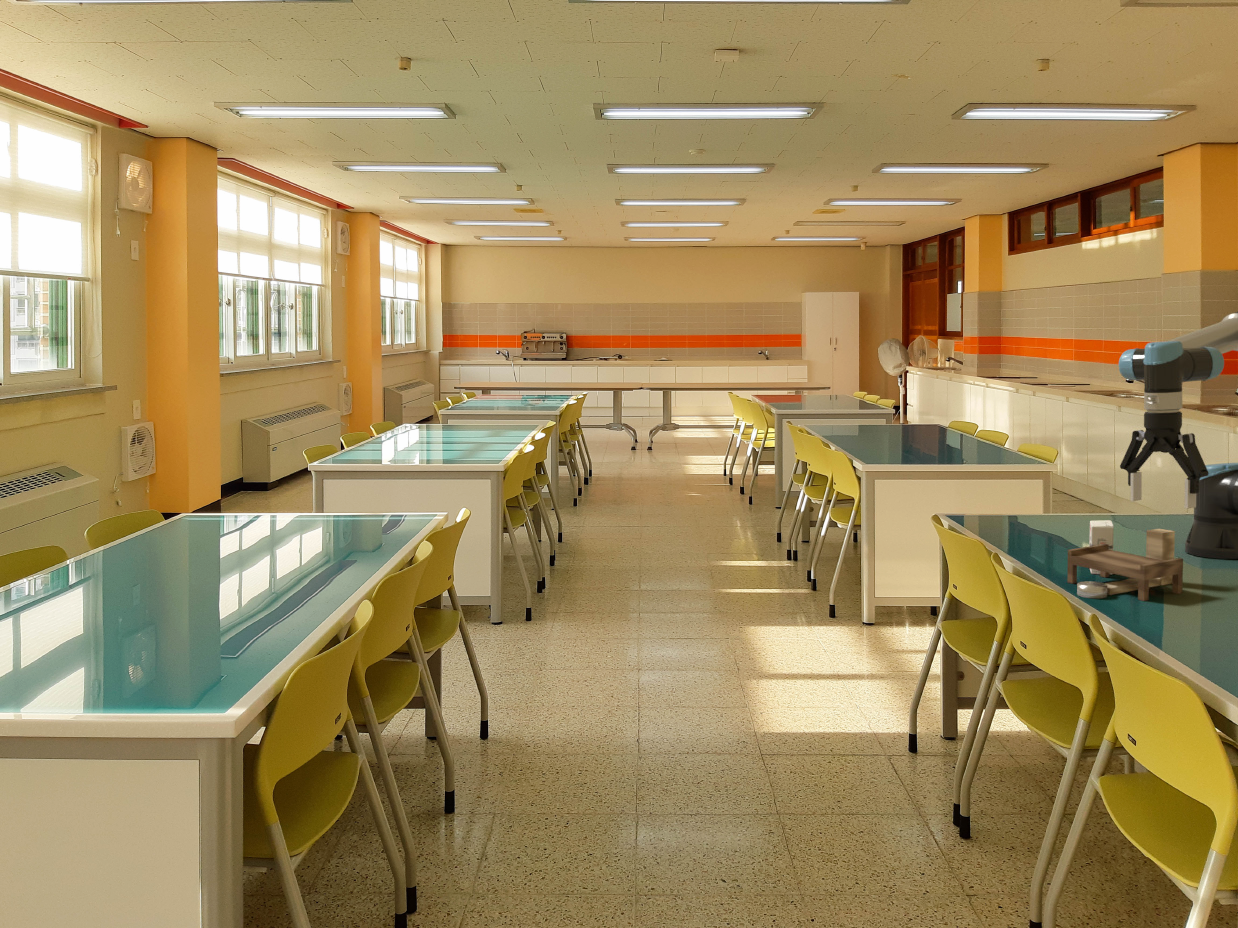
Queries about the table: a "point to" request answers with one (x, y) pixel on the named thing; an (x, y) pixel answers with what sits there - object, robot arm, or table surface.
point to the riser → (1125, 567)
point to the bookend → (1157, 548)
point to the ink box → (1101, 536)
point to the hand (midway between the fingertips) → (1162, 504)
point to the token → (1092, 589)
